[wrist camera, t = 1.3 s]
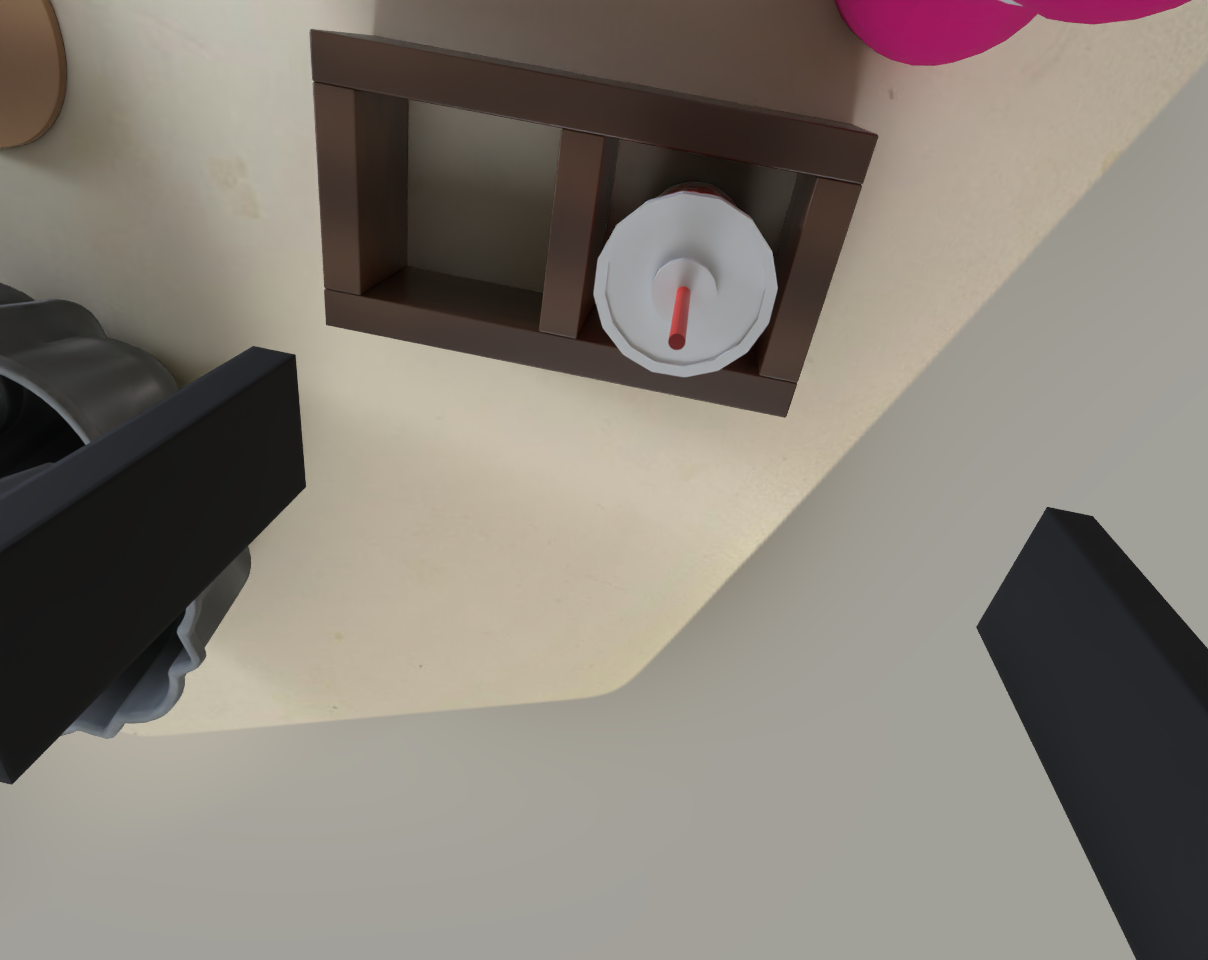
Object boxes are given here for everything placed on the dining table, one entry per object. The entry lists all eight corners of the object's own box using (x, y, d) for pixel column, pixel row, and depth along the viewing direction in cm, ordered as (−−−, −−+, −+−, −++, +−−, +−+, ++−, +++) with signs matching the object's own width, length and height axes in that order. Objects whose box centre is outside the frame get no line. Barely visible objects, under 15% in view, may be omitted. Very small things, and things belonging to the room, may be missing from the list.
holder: (371, 35, 29) (308, 28, 24) (853, 124, 28) (879, 134, 23) (376, 292, 34) (325, 325, 30) (776, 372, 33) (786, 418, 29)
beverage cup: (618, 165, 30) (554, 229, 18) (765, 156, 29) (801, 217, 17) (626, 306, 33) (576, 442, 21) (758, 302, 32) (785, 442, 20)
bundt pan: (-220, 202, 36) (-509, 242, 28) (258, 255, 34) (105, 317, 26) (-21, 591, 50) (-173, 699, 41) (329, 647, 48) (245, 772, 39)
